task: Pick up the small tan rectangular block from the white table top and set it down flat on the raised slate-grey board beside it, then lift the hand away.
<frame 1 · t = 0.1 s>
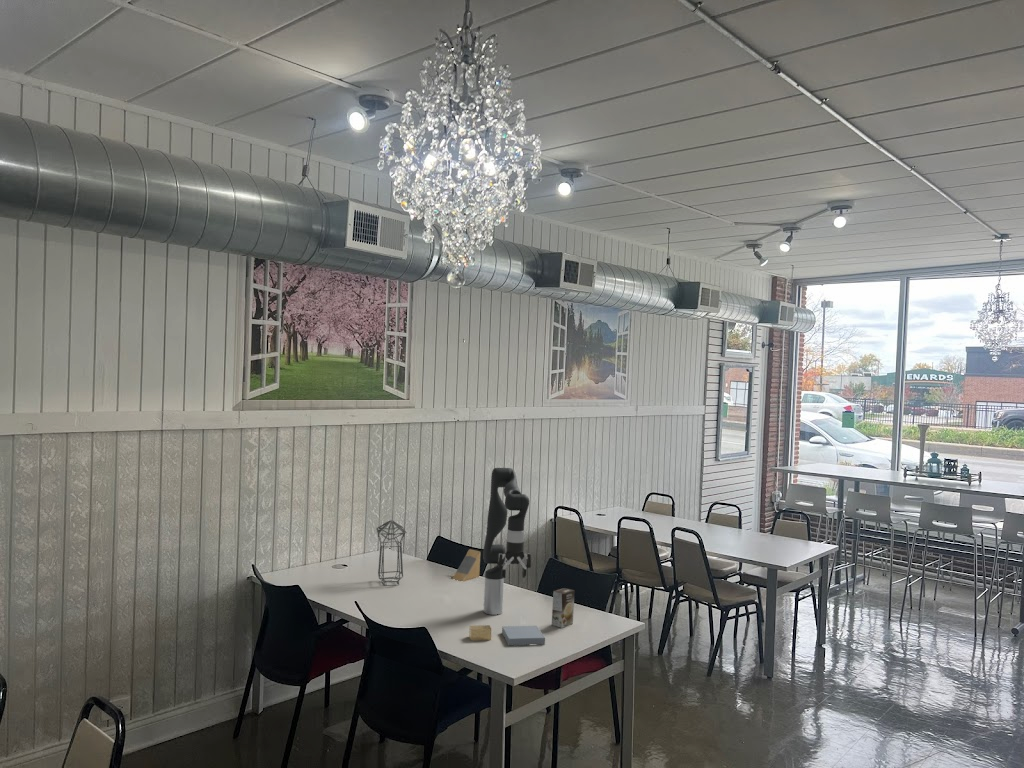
hand: (513, 577, 320), 29 cm above the table, tool pointing down, fingers open, 8 cm apart
tan rectangular block: (480, 638, 326), on the table
geometric lantern: (388, 583, 406), on the table
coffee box: (562, 624, 350), on the table
slate board: (523, 638, 328), on the table
sandwich container: (465, 578, 425), on the table
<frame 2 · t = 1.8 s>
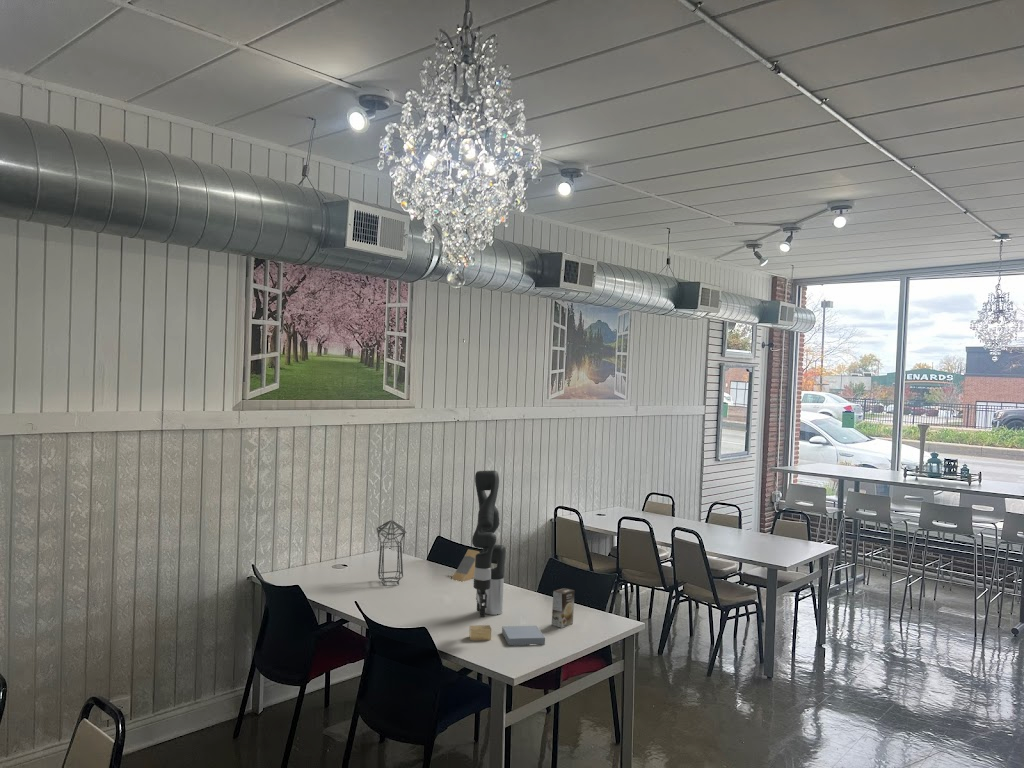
hand: (480, 614, 326), 11 cm above the table, tool pointing down, fingers open, 8 cm apart
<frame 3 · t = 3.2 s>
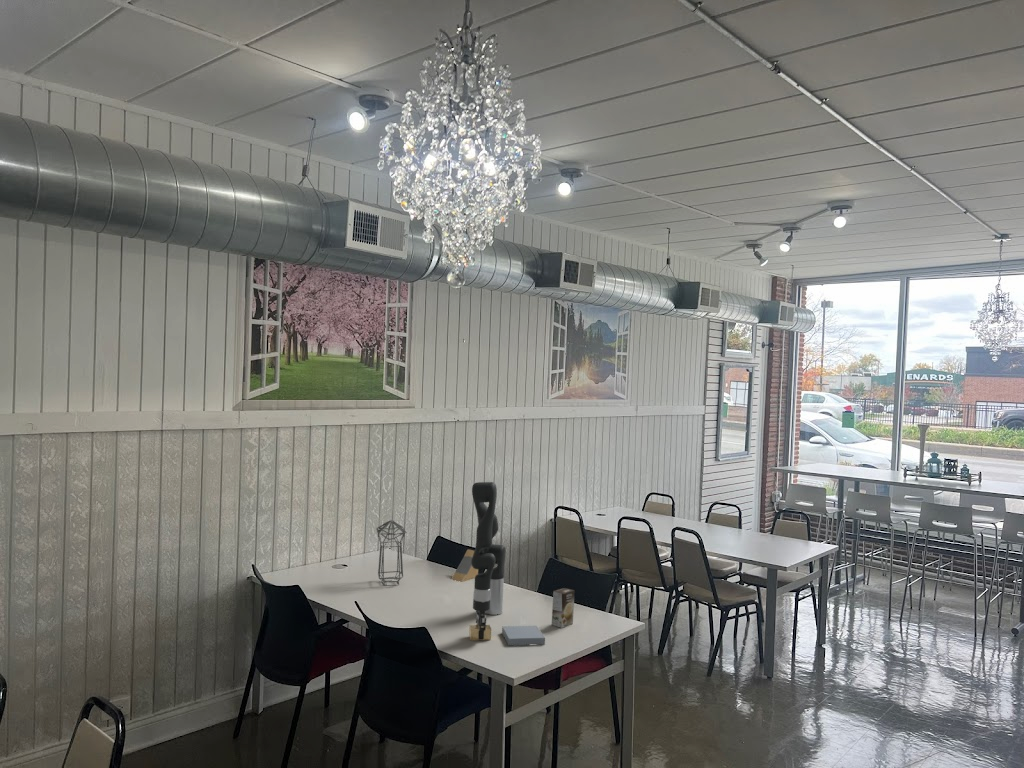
hand: (480, 636, 326), 1 cm above the table, tool pointing down, fingers closed on tan rectangular block, 5 cm apart
tan rectangular block: (479, 638, 326), on the table, touching gripper
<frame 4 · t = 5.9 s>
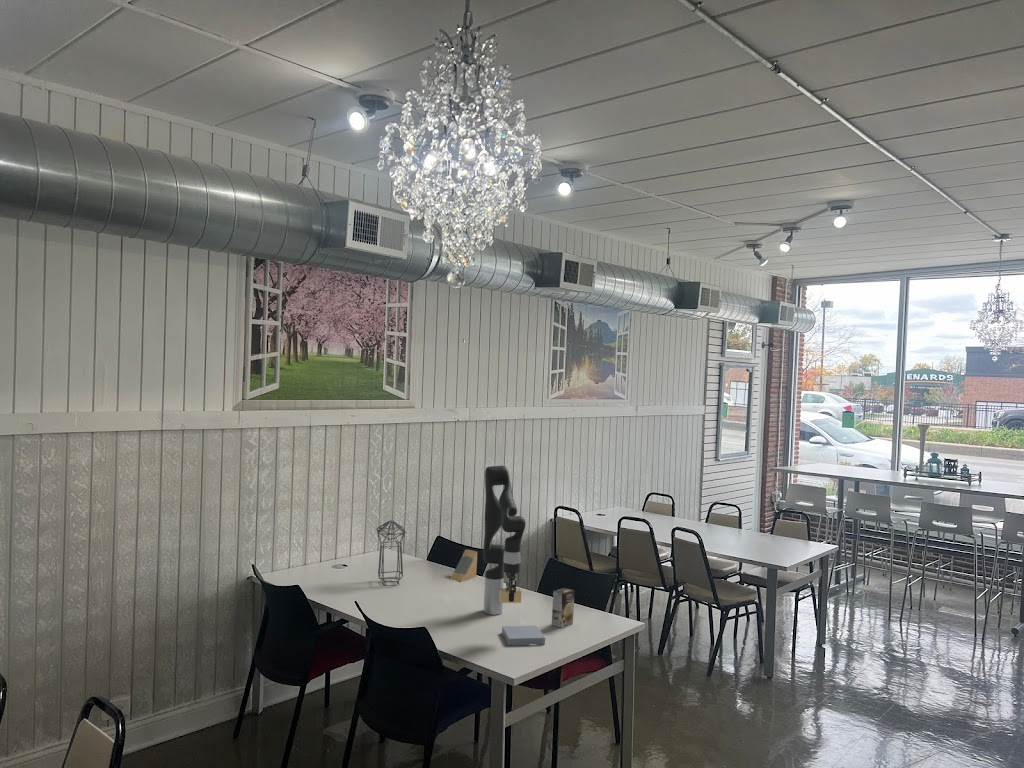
hand: (510, 599, 327), 17 cm above the table, tool pointing down, fingers closed on tan rectangular block, 5 cm apart
tan rectangular block: (509, 601, 327), point 17 cm above the table, touching gripper
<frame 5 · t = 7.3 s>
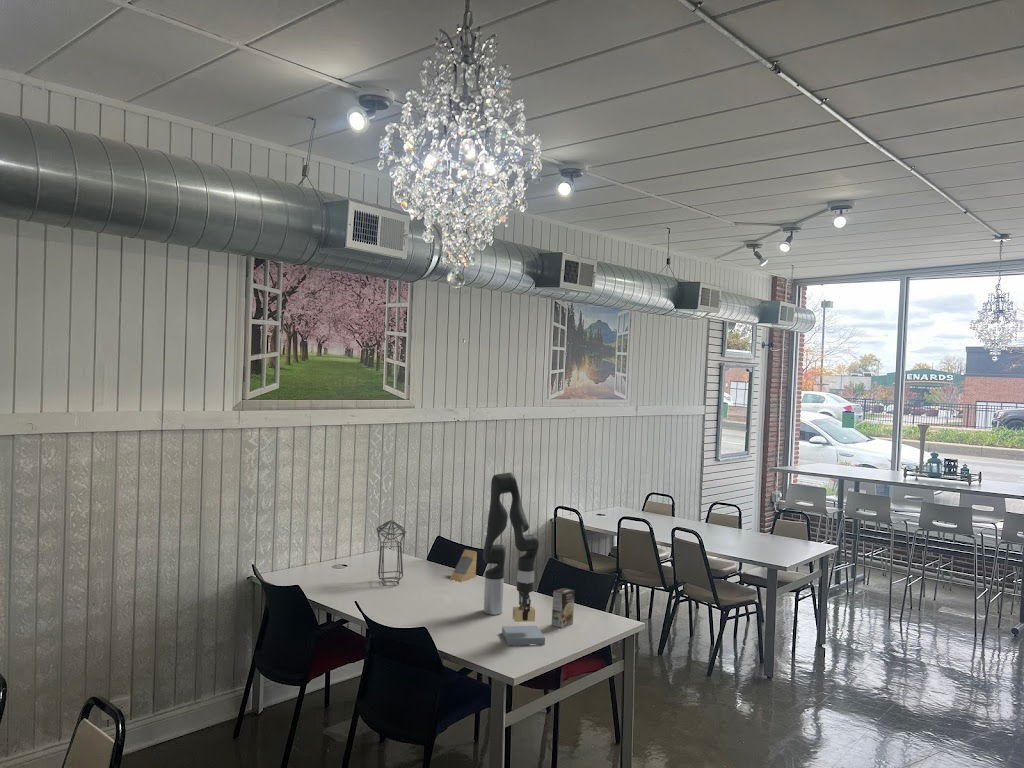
hand: (523, 618, 328), 9 cm above the table, tool pointing down, fingers closed on tan rectangular block, 5 cm apart
tan rectangular block: (523, 619, 328), point 8 cm above the table, touching gripper
when the fingers open (5 cm above the table, at t = 8.6 s): tan rectangular block drops 1 cm, resting on slate board.
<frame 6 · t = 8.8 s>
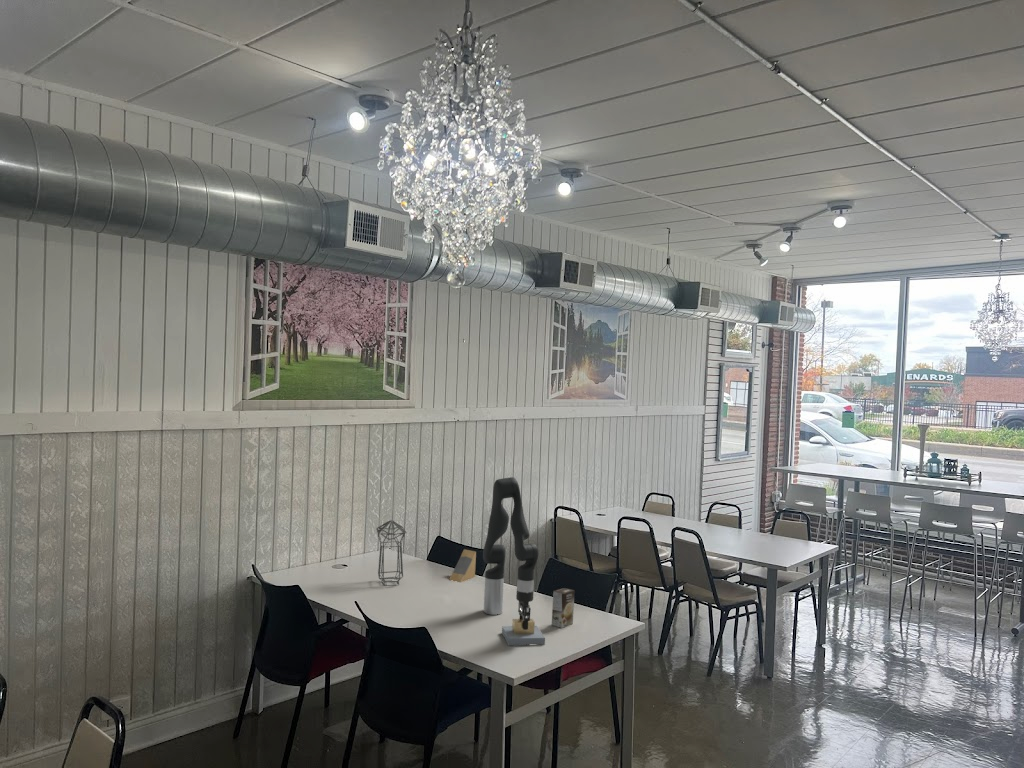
hand: (523, 626, 328), 5 cm above the table, tool pointing down, fingers open, 6 cm apart
tan rectangular block: (523, 631, 328), point 3 cm above the table, touching slate board
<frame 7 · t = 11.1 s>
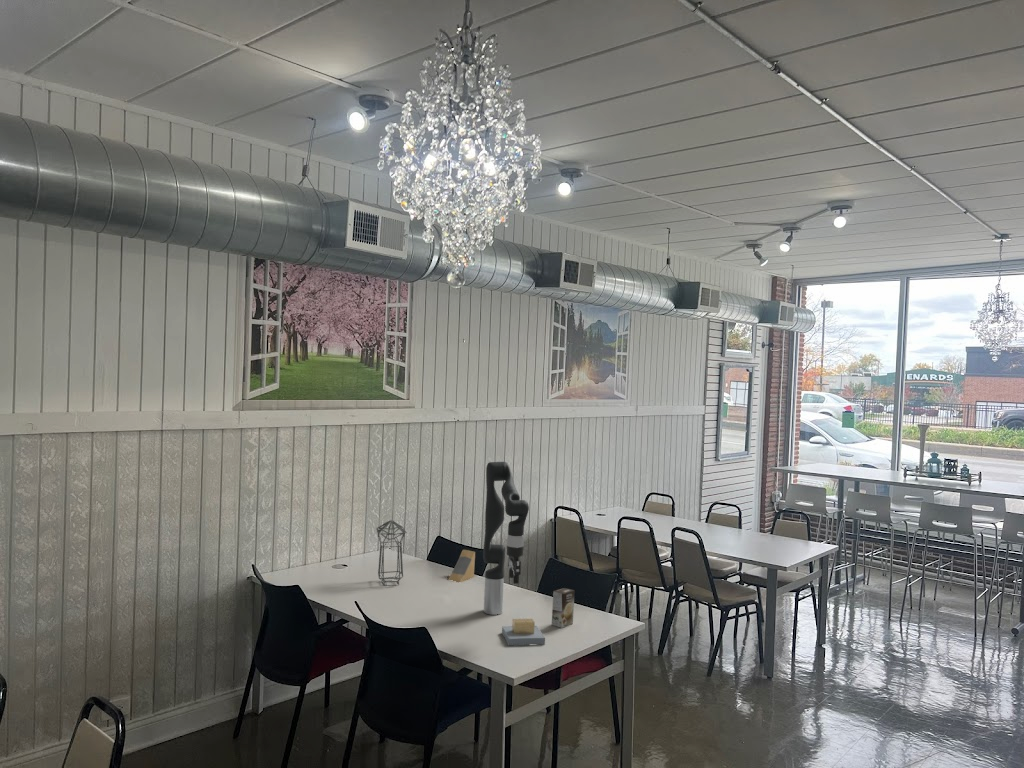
hand: (513, 580, 331), 25 cm above the table, tool pointing down, fingers open, 8 cm apart
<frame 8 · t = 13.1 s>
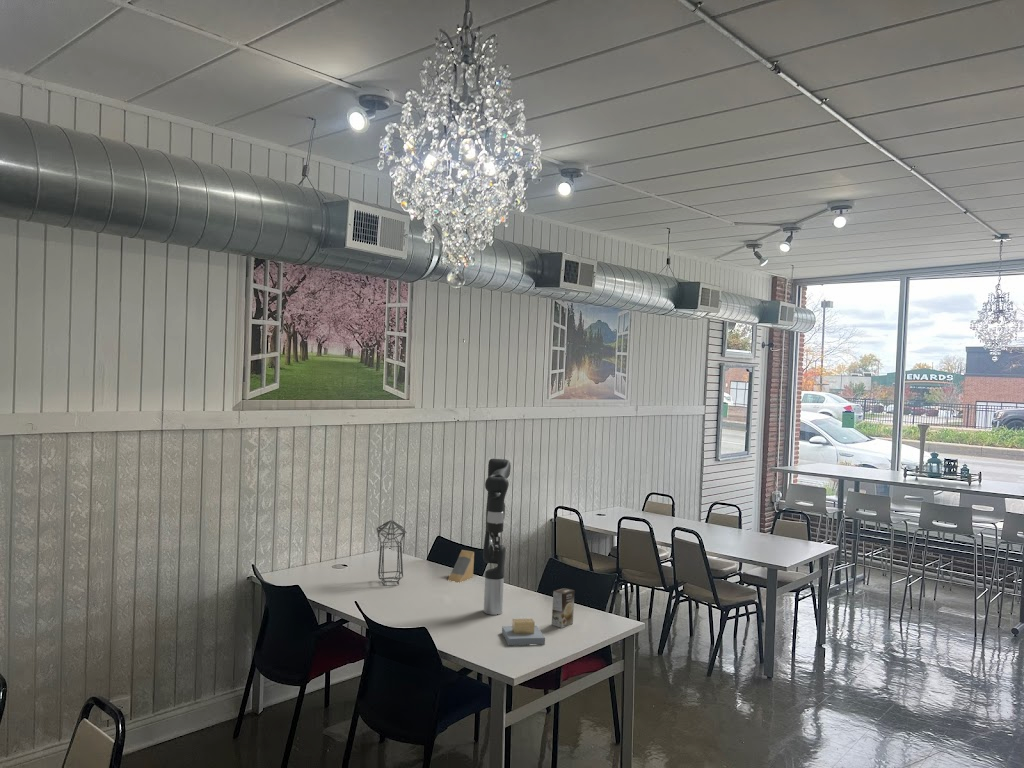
hand: (493, 556, 335), 34 cm above the table, tool pointing down, fingers open, 8 cm apart
at the end: tan rectangular block inside the target area on the slate board (0.1 cm from its centre), point 3.0 cm above the slate board's base; tan rectangular block tilted 0°; the gripper is holding nothing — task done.
